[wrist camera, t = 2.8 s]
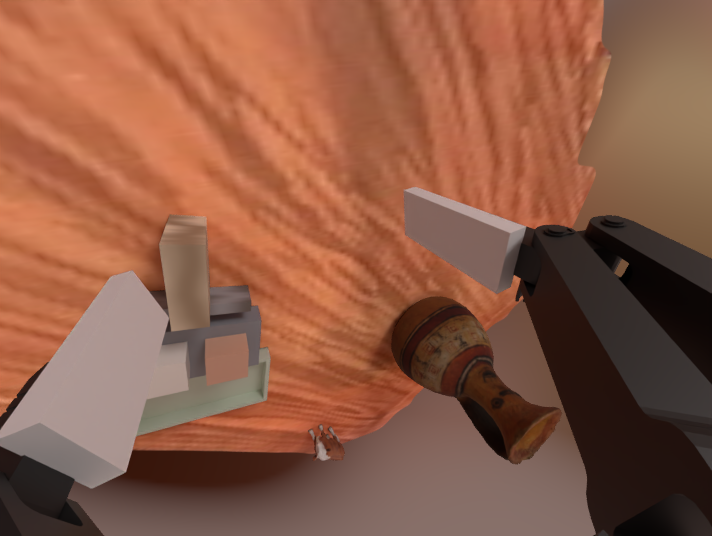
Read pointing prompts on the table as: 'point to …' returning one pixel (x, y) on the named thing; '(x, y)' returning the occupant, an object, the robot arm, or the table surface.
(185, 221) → the beige slab
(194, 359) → the slate board
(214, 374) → the reddish brown block
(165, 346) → the light grey block
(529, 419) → the ceramic pitcher
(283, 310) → the table surface
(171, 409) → the tray
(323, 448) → the bull figurine
